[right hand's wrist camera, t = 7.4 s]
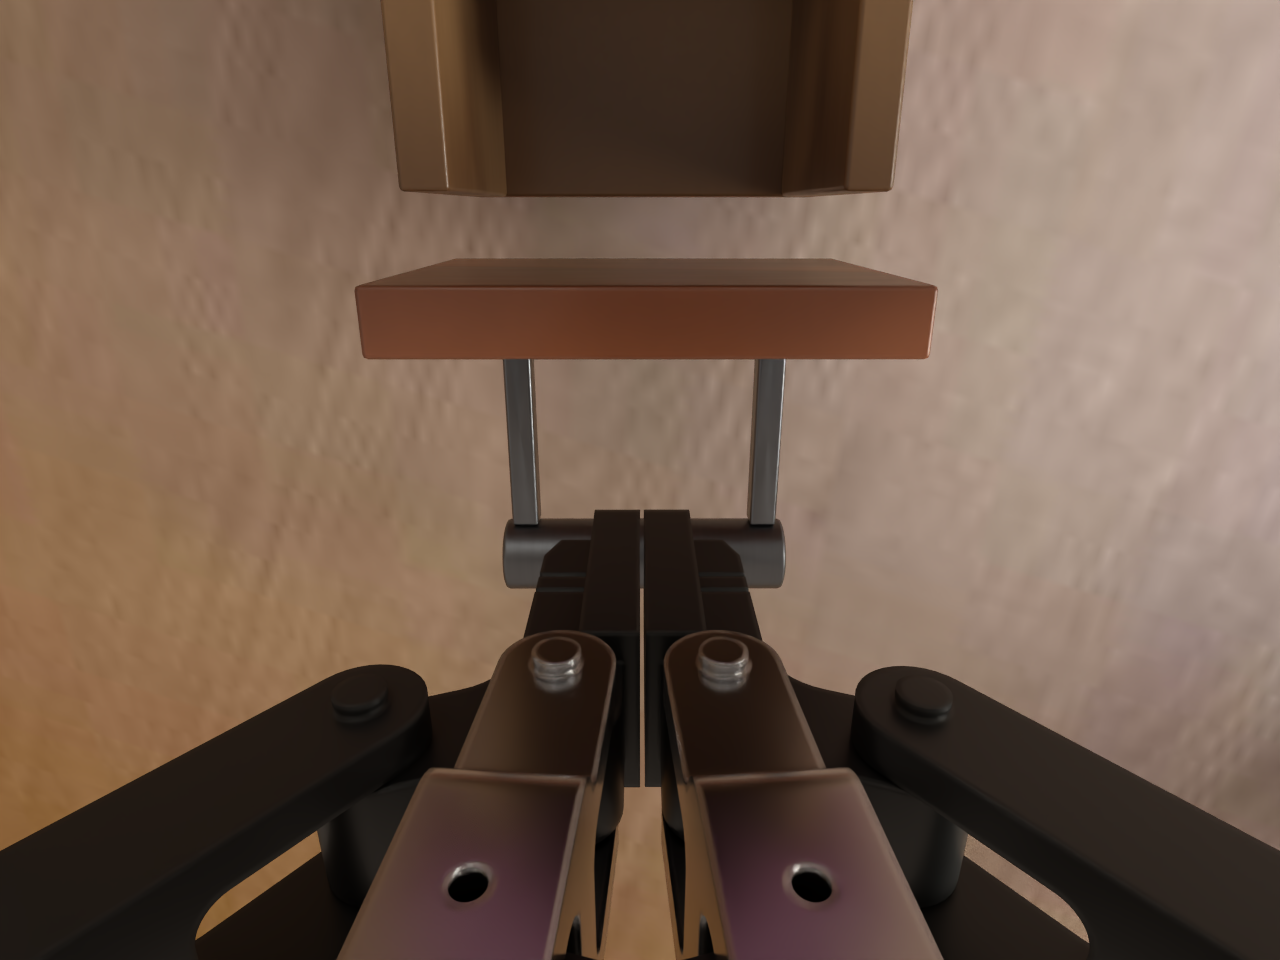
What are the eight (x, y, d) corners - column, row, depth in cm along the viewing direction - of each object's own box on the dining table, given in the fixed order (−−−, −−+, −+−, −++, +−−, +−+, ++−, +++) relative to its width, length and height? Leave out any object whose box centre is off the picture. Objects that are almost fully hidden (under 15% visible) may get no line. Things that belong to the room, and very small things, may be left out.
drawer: (810, 533, 21) (888, 679, 15) (475, 533, 21) (401, 680, 15) (919, -756, 13) (1209, -1754, 6) (371, -759, 13) (94, -1761, 6)
